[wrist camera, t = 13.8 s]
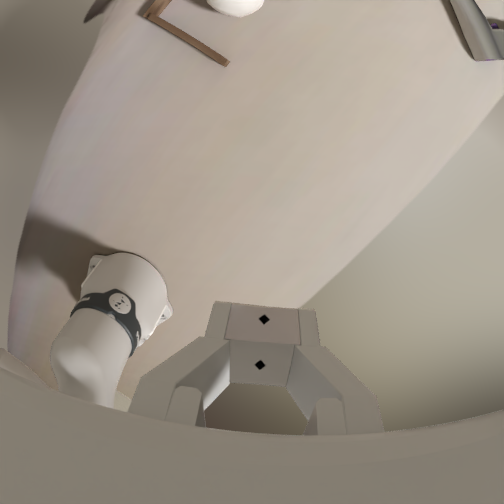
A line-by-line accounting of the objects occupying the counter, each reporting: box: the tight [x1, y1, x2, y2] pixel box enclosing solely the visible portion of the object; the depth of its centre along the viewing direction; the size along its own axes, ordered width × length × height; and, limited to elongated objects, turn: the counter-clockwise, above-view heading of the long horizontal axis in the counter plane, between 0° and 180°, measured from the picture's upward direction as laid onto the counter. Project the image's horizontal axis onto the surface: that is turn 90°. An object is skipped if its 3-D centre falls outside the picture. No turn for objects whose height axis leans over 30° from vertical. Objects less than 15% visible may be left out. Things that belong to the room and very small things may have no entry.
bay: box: [143, 0, 230, 67], centre depth 31 cm, size 15×14×2 cm
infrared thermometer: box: [450, 0, 504, 61], centre depth 26 cm, size 5×12×15 cm
